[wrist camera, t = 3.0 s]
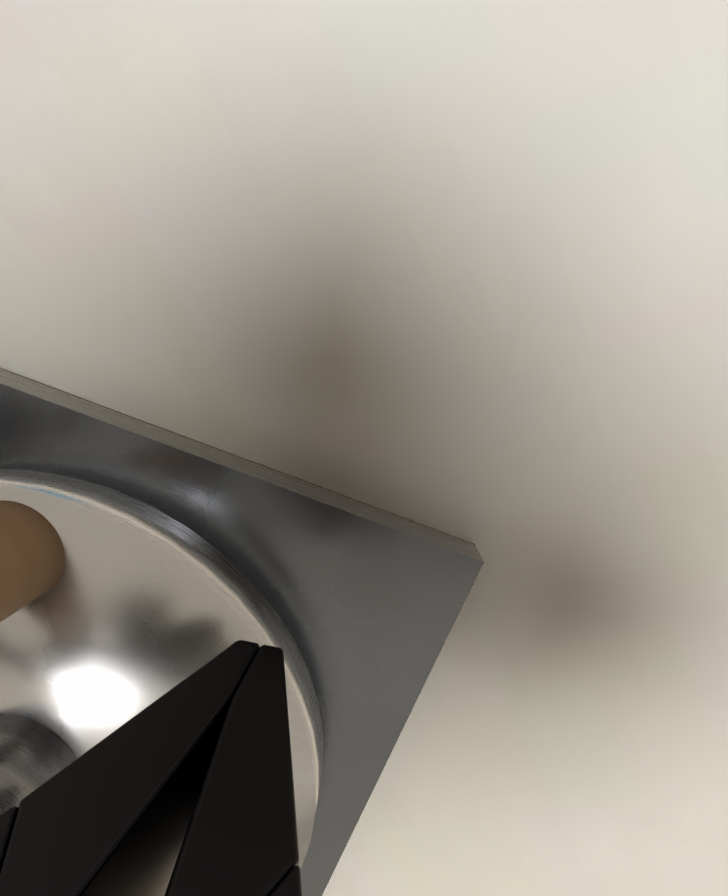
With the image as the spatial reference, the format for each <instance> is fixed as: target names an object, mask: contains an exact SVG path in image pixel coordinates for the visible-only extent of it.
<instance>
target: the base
mask: <svg viewBox="0 0 728 896" xmlns="http://www.w3.org/2000/svg"><path fill="white" fill-rule="evenodd" d="M0 469H18V470H35V471H41V472H47V473H52V474H58V475H64V476H70V477H74V478H78V479H81V480H84V481H88V482H91V483H94V484H98V485H101V486H104V487H108V488H111V489H114V490H116V491H118V492H121V493H123V494H125V495H127V496H130V497H132V498H134V499H137V500H139V501H141V502H143V503H146V504H148V505H150V506H152V507H154V508H156V509H157V510H159V511H161V512H163V513H164V514H166V515H168V516H169V517H171V518H173V519H175V520H176V521H178V522H180V523H181V524H183V525H185V526H187V527H188V528H189V529H191V530H192V531H193V532H195V533H196V534H197V535H199V536H200V537H201V538H203V539H204V540H205V541H207V542H208V543H210V544H211V545H212V546H214V547H215V548H216V549H218V550H219V551H220V552H221V553H222V554H223V555H224V556H225V557H227V558H228V559H229V560H230V561H231V562H232V563H233V564H234V565H235V566H236V567H237V568H238V569H239V570H240V571H241V572H242V573H243V574H245V575H246V576H247V577H248V578H249V579H250V580H251V582H252V583H253V584H254V585H255V587H256V588H257V589H258V590H259V591H260V593H261V594H262V595H263V596H264V597H265V599H266V600H267V601H268V602H269V603H270V605H271V606H272V607H273V608H274V610H275V611H276V613H277V614H278V616H279V617H280V619H281V620H282V622H283V624H284V625H285V627H286V628H287V630H288V631H289V633H290V635H291V636H292V638H293V639H294V641H295V643H296V645H297V648H298V650H299V652H300V654H301V656H302V658H303V660H304V662H305V665H306V667H307V669H308V671H309V674H310V677H311V680H312V684H313V687H314V690H315V693H316V697H317V700H318V703H319V709H320V716H321V722H322V729H323V769H322V775H321V781H320V788H319V794H318V800H317V806H316V812H315V818H314V824H313V830H312V836H311V842H310V845H309V848H308V850H307V853H306V856H305V859H304V862H303V864H302V867H301V881H302V894H303V896H322V894H323V892H324V890H325V888H326V886H327V884H328V882H329V880H330V878H331V876H332V874H333V871H334V869H335V867H336V865H337V863H338V861H339V859H340V857H341V855H342V853H343V851H344V849H345V847H346V845H347V843H348V841H349V838H350V836H351V834H352V832H353V830H354V828H355V826H356V824H357V822H358V820H359V818H360V816H361V814H362V812H363V810H364V807H365V805H366V803H367V801H368V799H369V797H370V795H371V793H372V791H373V789H374V787H375V785H376V783H377V781H378V779H379V777H380V774H381V772H382V770H383V768H384V766H385V764H386V762H387V760H388V758H389V756H390V754H391V752H392V750H393V748H394V746H395V743H396V741H397V739H398V737H399V735H400V733H401V731H402V729H403V727H404V725H405V723H406V721H407V719H408V717H409V715H410V713H411V710H412V708H413V706H414V704H415V702H416V700H417V698H418V696H419V694H420V692H421V690H422V688H423V686H424V684H425V682H426V679H427V677H428V675H429V673H430V671H431V669H432V667H433V665H434V663H435V661H436V659H437V657H438V655H439V653H440V651H441V649H442V646H443V644H444V642H445V640H446V638H447V636H448V634H449V632H450V630H451V628H452V626H453V624H454V622H455V620H456V618H457V615H458V613H459V611H460V609H461V607H462V605H463V603H464V601H465V599H466V597H467V595H468V593H469V591H470V589H471V587H472V585H473V582H474V580H475V578H476V576H477V574H478V572H479V570H480V568H481V566H482V564H483V560H482V558H481V556H480V554H479V552H478V550H477V548H476V546H475V544H472V543H469V542H466V541H464V540H461V539H458V538H456V537H453V536H450V535H448V534H445V533H442V532H440V531H437V530H434V529H431V528H429V527H426V526H423V525H421V524H418V523H415V522H413V521H410V520H407V519H404V518H402V517H399V516H396V515H394V514H391V513H388V512H386V511H383V510H380V509H378V508H375V507H372V506H369V505H367V504H364V503H361V502H359V501H356V500H353V499H351V498H348V497H345V496H343V495H340V494H337V493H334V492H332V491H329V490H326V489H324V488H321V487H318V486H316V485H313V484H310V483H307V482H305V481H302V480H299V479H297V478H294V477H291V476H289V475H286V474H283V473H281V472H278V471H275V470H272V469H270V468H267V467H264V466H262V465H259V464H256V463H254V462H251V461H248V460H246V459H243V458H240V457H237V456H235V455H232V454H229V453H227V452H224V451H221V450H219V449H216V448H213V447H210V446H208V445H205V444H202V443H200V442H197V441H194V440H192V439H189V438H186V437H184V436H181V435H178V434H175V433H173V432H170V431H167V430H165V429H162V428H159V427H157V426H154V425H151V424H149V423H146V422H143V421H140V420H138V419H135V418H132V417H130V416H127V415H124V414H122V413H119V412H116V411H113V410H111V409H108V408H105V407H103V406H100V405H97V404H95V403H92V402H89V401H87V400H84V399H81V398H78V397H76V396H73V395H70V394H68V393H65V392H62V391H60V390H57V389H54V388H52V387H49V386H46V385H43V384H41V383H38V382H35V381H33V380H30V379H27V378H25V377H22V376H19V375H16V374H14V373H11V372H8V371H6V370H3V369H0Z"/></svg>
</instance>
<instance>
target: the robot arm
mask: <svg viewBox="0 0 728 896" xmlns="http://www.w3.org/2000/svg"><path fill="white" fill-rule="evenodd" d="M299 860H300V859H299V846H298V833H297V820H296V807H295V794H294V781H293V768H292V755H291V742H290V729H289V717H288V704H287V691H286V678H285V665H284V652H283V649H282V648H279V647H274V646H269V645H262V646H261V647H260V645H259V644H258V643H254V642H249V641H244V640H238V641H236V642H234V643H233V644H232V645H230V646H229V647H227V648H226V649H225V650H223V651H222V652H221V653H219V654H218V655H217V656H215V657H214V658H213V659H211V660H210V661H209V662H207V663H206V664H204V665H203V666H202V667H200V668H199V669H198V670H196V671H195V672H194V673H192V674H191V675H190V676H188V677H187V678H186V679H184V680H183V681H181V682H180V683H179V684H177V685H176V686H175V687H173V688H172V689H171V690H169V691H168V692H167V693H165V694H164V695H163V696H161V697H160V698H158V699H157V700H156V701H154V702H153V703H152V704H150V705H149V706H148V707H146V708H145V709H144V710H142V711H141V712H139V713H138V714H137V715H135V716H134V717H133V718H131V719H130V720H129V721H127V722H126V723H125V724H123V725H122V726H121V727H119V728H118V729H116V730H115V731H114V732H112V733H111V734H110V735H108V736H107V737H106V738H104V739H103V740H102V741H100V742H99V743H98V744H96V745H95V746H93V747H92V748H91V749H89V750H88V751H87V752H85V753H84V754H83V755H81V756H80V757H79V758H77V759H76V760H75V761H73V762H72V763H70V764H69V765H68V766H66V767H65V768H64V769H62V770H61V771H60V772H58V773H57V774H56V775H54V776H53V777H52V778H50V779H49V780H47V781H46V782H45V783H43V784H42V785H41V786H39V787H38V788H37V789H35V790H34V791H33V792H31V793H30V794H28V795H27V796H26V797H24V798H23V799H22V800H21V801H20V803H19V806H18V807H17V806H12V807H10V808H9V809H8V810H6V811H5V812H4V813H2V814H1V815H0V896H303V894H302V881H301V869H300V867H299Z"/></svg>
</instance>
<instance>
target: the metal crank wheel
mask: <svg viewBox="0 0 728 896" xmlns="http://www.w3.org/2000/svg"><path fill="white" fill-rule="evenodd" d="M238 640H244V641H249V642H254V643H258V644H259V645H260V647H261V646H262V645H269V646H274V647H279V648H282V649H283V652H284V665H285V678H286V691H287V704H288V717H289V729H290V742H291V755H292V768H293V781H294V794H295V807H296V820H297V833H298V846H299V859H300V860H299V867H300V869H301V867H302V864H303V862H304V859H305V856H306V853H307V850H308V848H309V845H310V842H311V836H312V830H313V824H314V818H315V812H316V806H317V800H318V794H319V788H320V781H321V775H322V769H323V729H322V722H321V716H320V709H319V703H318V700H317V697H316V693H315V690H314V687H313V684H312V680H311V677H310V674H309V671H308V669H307V667H306V665H305V662H304V660H303V658H302V656H301V654H300V652H299V650H298V648H297V645H296V643H295V641H294V639H293V638H292V636H291V635H290V633H289V631H288V630H287V628H286V627H285V625H284V624H283V622H282V620H281V619H280V617H279V616H278V614H277V613H276V611H275V610H274V608H273V607H272V606H271V605H270V603H269V602H268V601H267V600H266V599H265V597H264V596H263V595H262V594H261V593H260V591H259V590H258V589H257V588H256V587H255V585H254V584H253V583H252V582H251V580H250V579H249V578H248V577H247V576H246V575H245V574H243V573H242V572H241V571H240V570H239V569H238V568H237V567H236V566H235V565H234V564H233V563H232V562H231V561H230V560H229V559H228V558H227V557H225V556H224V555H223V554H222V553H221V552H220V551H219V550H218V549H216V548H215V547H214V546H212V545H211V544H210V543H208V542H207V541H205V540H204V539H203V538H201V537H200V536H199V535H197V534H196V533H195V532H193V531H192V530H191V529H189V528H188V527H187V526H185V525H183V524H181V523H180V522H178V521H176V520H175V519H173V518H171V517H169V516H168V515H166V514H164V513H163V512H161V511H159V510H157V509H156V508H154V507H152V506H150V505H148V504H146V503H143V502H141V501H139V500H137V499H134V498H132V497H130V496H127V495H125V494H123V493H121V492H118V491H116V490H114V489H111V488H108V487H104V486H101V485H98V484H94V483H91V482H88V481H84V480H81V479H78V478H74V477H70V476H64V475H58V474H52V473H47V472H41V471H35V470H18V469H0V815H1V814H2V813H4V812H5V811H6V810H8V809H9V808H10V807H12V806H17V807H18V806H19V803H20V801H21V800H22V799H23V798H24V797H26V796H27V795H28V794H30V793H31V792H33V791H34V790H35V789H37V788H38V787H39V786H41V785H42V784H43V783H45V782H46V781H47V780H49V779H50V778H52V777H53V776H54V775H56V774H57V773H58V772H60V771H61V770H62V769H64V768H65V767H66V766H68V765H69V764H70V763H72V762H73V761H75V760H76V759H77V758H79V757H80V756H81V755H83V754H84V753H85V752H87V751H88V750H89V749H91V748H92V747H93V746H95V745H96V744H98V743H99V742H100V741H102V740H103V739H104V738H106V737H107V736H108V735H110V734H111V733H112V732H114V731H115V730H116V729H118V728H119V727H121V726H122V725H123V724H125V723H126V722H127V721H129V720H130V719H131V718H133V717H134V716H135V715H137V714H138V713H139V712H141V711H142V710H144V709H145V708H146V707H148V706H149V705H150V704H152V703H153V702H154V701H156V700H157V699H158V698H160V697H161V696H163V695H164V694H165V693H167V692H168V691H169V690H171V689H172V688H173V687H175V686H176V685H177V684H179V683H180V682H181V681H183V680H184V679H186V678H187V677H188V676H190V675H191V674H192V673H194V672H195V671H196V670H198V669H199V668H200V667H202V666H203V665H204V664H206V663H207V662H209V661H210V660H211V659H213V658H214V657H215V656H217V655H218V654H219V653H221V652H222V651H223V650H225V649H226V648H227V647H229V646H230V645H232V644H233V643H234V642H236V641H238Z"/></svg>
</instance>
